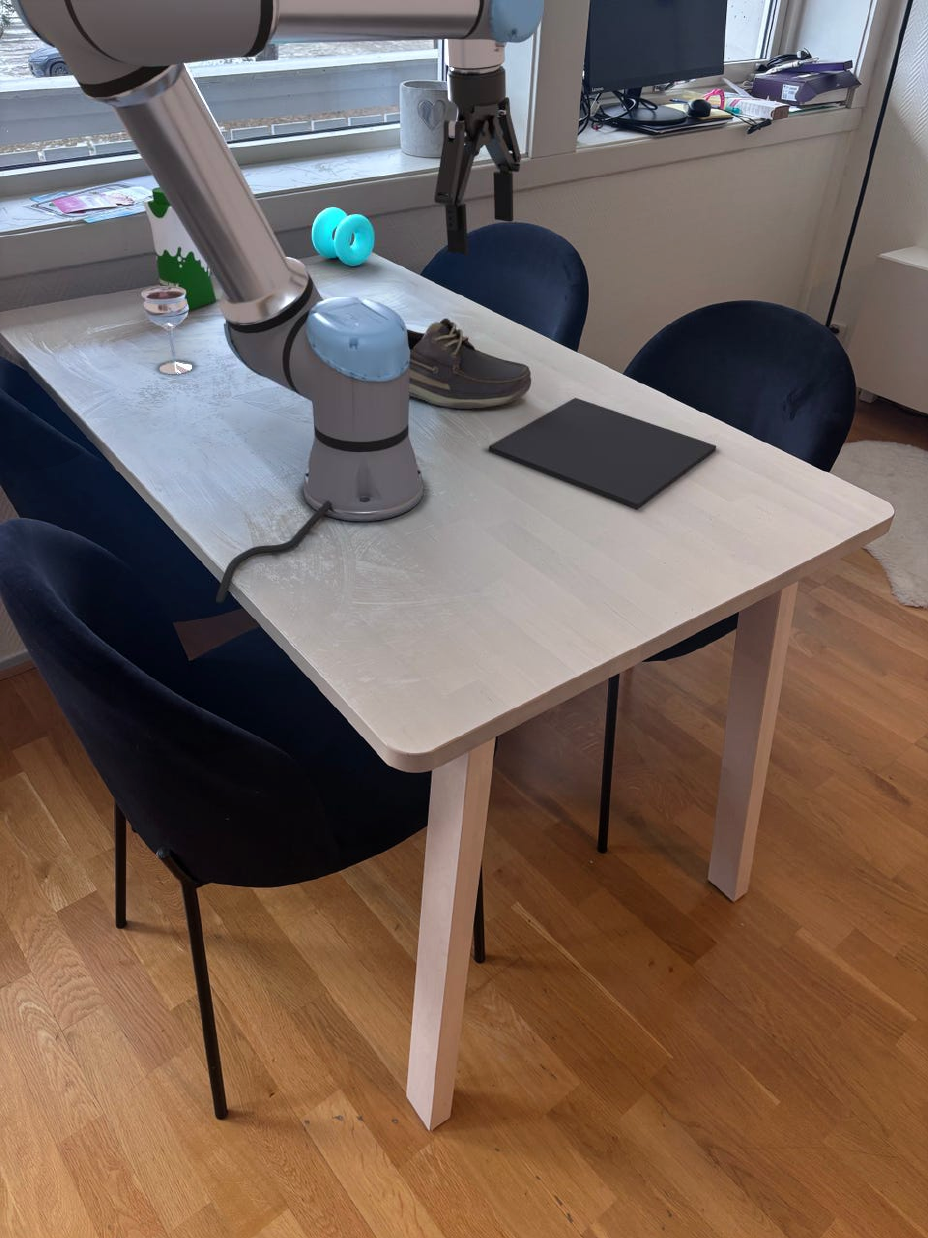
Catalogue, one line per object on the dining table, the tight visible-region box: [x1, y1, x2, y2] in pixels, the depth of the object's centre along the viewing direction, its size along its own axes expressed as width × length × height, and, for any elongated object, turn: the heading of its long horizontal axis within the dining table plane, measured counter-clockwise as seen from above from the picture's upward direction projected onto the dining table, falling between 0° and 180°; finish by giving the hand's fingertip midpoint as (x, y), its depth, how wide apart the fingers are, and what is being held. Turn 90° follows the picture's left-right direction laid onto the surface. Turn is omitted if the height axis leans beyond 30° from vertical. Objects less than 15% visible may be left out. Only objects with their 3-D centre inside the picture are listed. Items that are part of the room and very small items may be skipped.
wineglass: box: [140, 285, 192, 375], centre depth 150 cm, size 7×7×12 cm
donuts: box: [311, 207, 375, 267], centre depth 197 cm, size 10×10×10 cm
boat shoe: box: [406, 317, 532, 410], centre depth 146 cm, size 11×29×11 cm, turn 78°
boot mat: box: [488, 397, 717, 510], centre depth 135 cm, size 22×24×1 cm
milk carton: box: [142, 186, 217, 312], centre depth 172 cm, size 9×9×20 cm
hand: (481, 235), depth 136 cm, fingers open, 13 cm apart
